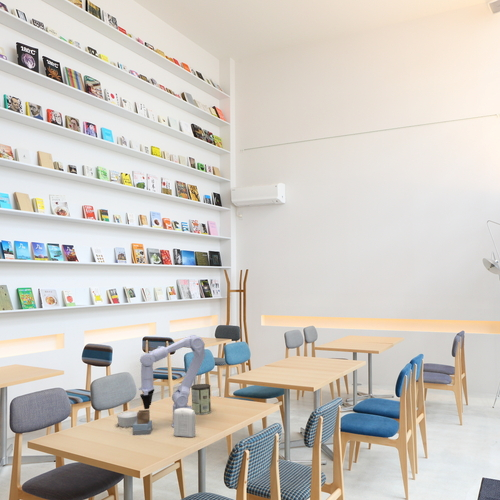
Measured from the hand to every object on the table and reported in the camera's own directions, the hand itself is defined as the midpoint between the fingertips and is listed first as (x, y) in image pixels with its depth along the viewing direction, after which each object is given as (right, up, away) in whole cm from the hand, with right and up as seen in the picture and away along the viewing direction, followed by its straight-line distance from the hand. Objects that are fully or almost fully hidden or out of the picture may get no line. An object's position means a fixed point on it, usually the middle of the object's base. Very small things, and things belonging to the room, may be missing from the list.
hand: (147, 407), depth 230 cm
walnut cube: (-1, -6, -5) cm, 8 cm away
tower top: (-1, -8, -6) cm, 10 cm away
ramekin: (-11, -12, +7) cm, 18 cm away
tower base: (-1, -11, -6) cm, 12 cm away
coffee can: (+23, -12, +27) cm, 37 cm away
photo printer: (+20, -9, -13) cm, 25 cm away
